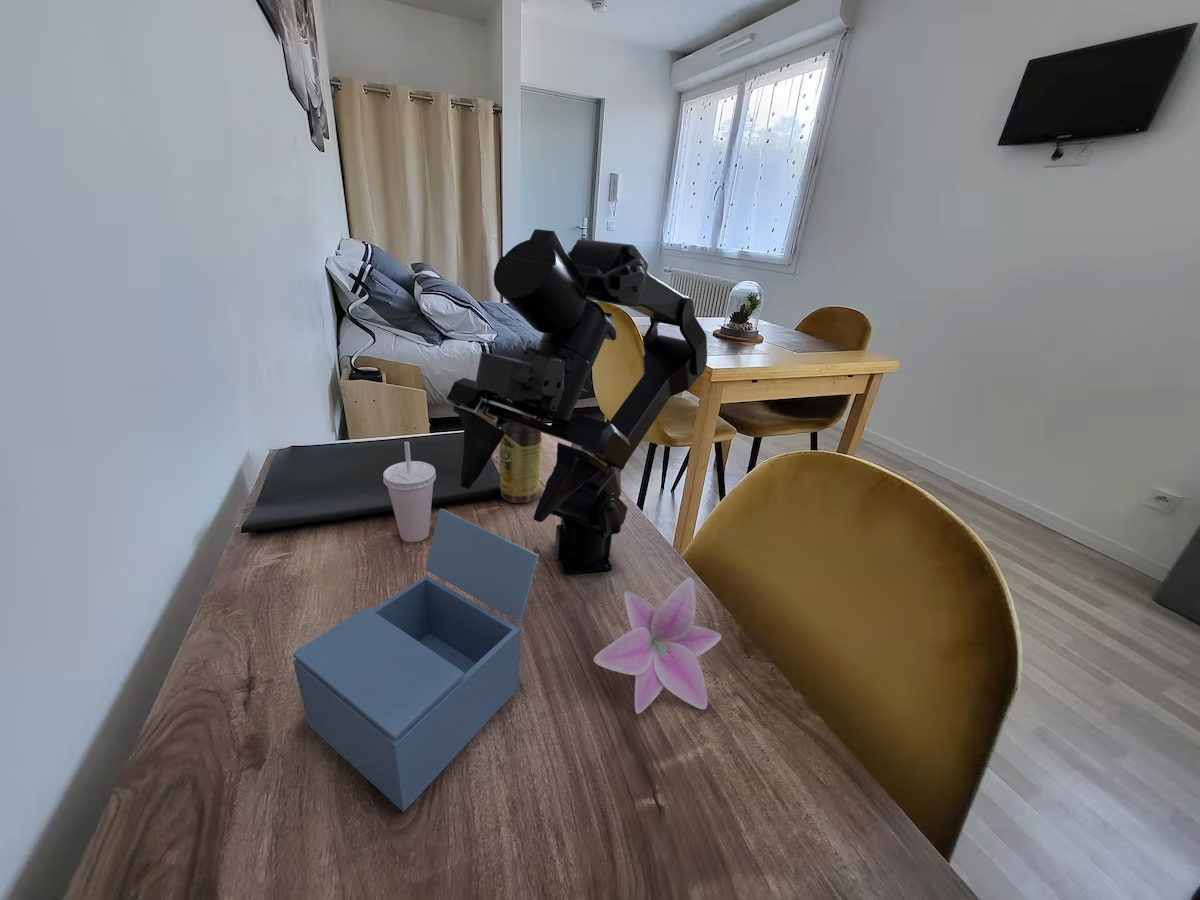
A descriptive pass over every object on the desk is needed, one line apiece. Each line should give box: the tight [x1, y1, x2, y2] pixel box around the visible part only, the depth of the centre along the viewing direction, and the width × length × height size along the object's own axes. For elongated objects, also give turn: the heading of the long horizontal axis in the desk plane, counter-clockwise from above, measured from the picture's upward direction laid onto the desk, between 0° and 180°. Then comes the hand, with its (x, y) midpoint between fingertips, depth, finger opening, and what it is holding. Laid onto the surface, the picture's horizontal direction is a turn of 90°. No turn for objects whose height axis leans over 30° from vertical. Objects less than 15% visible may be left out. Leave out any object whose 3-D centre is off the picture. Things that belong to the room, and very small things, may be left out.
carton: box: [292, 574, 521, 813], centre depth 42 cm, size 13×12×8 cm
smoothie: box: [382, 441, 437, 543], centre depth 63 cm, size 6×6×14 cm
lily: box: [593, 577, 722, 715], centre depth 47 cm, size 12×12×10 cm
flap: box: [425, 508, 540, 624], centre depth 45 cm, size 6×12×1 cm
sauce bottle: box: [499, 400, 543, 504], centre depth 74 cm, size 6×6×20 cm
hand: (499, 503), depth 46 cm, fingers open, 9 cm apart
